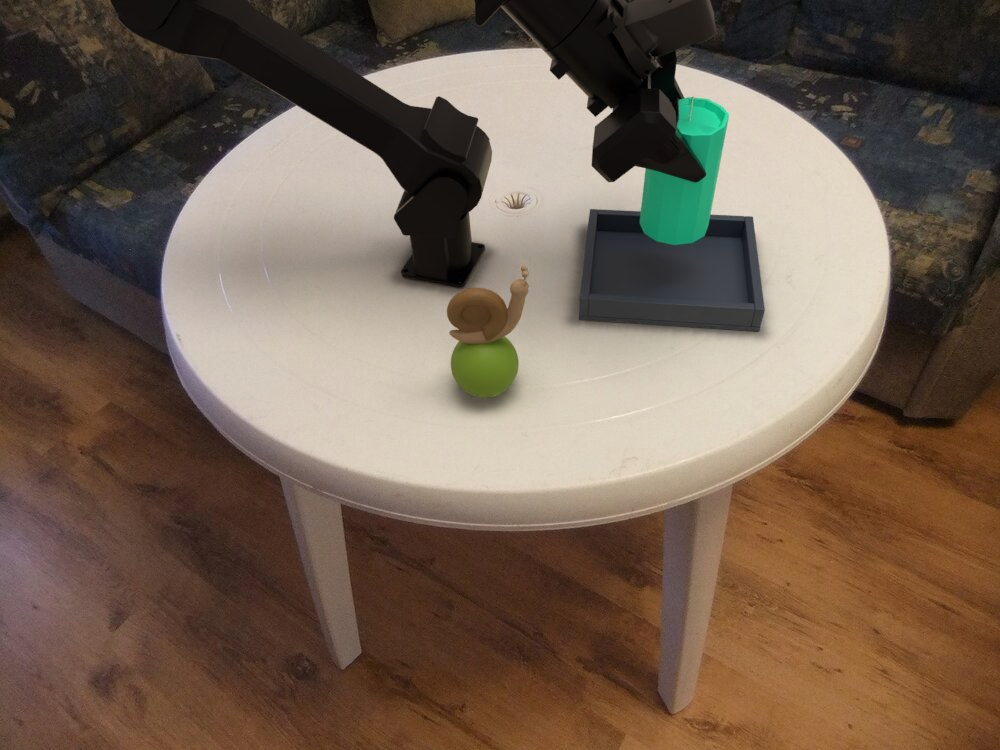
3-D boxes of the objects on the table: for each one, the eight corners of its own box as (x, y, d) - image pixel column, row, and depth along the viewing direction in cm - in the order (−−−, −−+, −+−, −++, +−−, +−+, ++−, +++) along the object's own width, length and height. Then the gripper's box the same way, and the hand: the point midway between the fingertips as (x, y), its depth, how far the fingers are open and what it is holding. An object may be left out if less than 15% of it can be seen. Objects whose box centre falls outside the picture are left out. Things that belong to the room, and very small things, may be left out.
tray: (578, 320, 71) (579, 298, 69) (588, 229, 80) (589, 208, 78) (759, 331, 69) (765, 309, 67) (748, 237, 78) (753, 216, 76)
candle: (706, 206, 72) (729, 79, 63) (710, 246, 68) (735, 116, 59) (639, 203, 73) (653, 77, 64) (639, 243, 69) (654, 114, 60)
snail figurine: (534, 407, 64) (532, 292, 55) (455, 414, 64) (440, 300, 55) (527, 359, 67) (524, 245, 59) (452, 366, 67) (438, 252, 59)
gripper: (657, -10, 48) (803, 161, 54) (657, -105, 60) (775, 43, 67) (527, 108, 54) (671, 248, 61) (552, 0, 67) (669, 125, 74)
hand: (700, 159), depth 65 cm, fingers closed on candle, 5 cm apart
